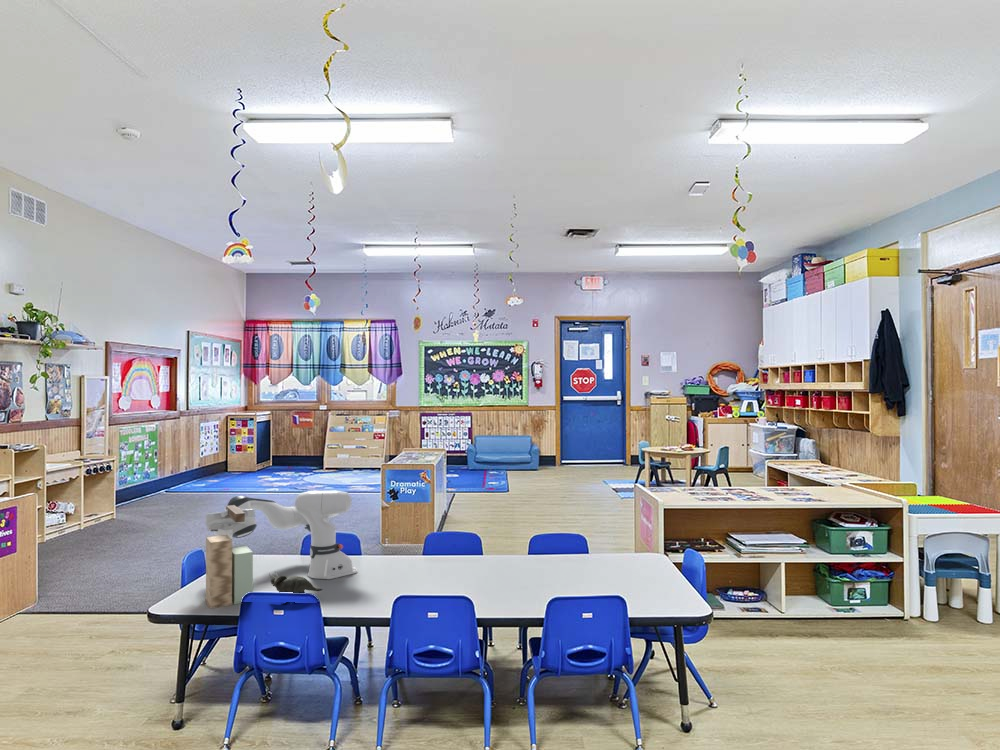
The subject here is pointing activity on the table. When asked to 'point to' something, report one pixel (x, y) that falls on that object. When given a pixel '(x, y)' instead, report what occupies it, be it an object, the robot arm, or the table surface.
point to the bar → (235, 513)
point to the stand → (218, 571)
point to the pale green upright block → (241, 572)
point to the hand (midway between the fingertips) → (233, 510)
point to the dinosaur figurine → (292, 584)
